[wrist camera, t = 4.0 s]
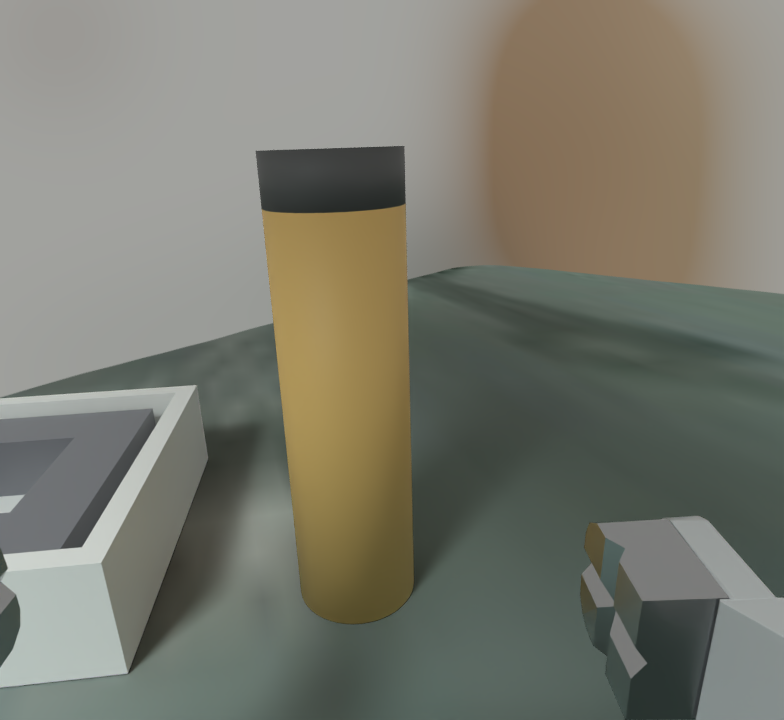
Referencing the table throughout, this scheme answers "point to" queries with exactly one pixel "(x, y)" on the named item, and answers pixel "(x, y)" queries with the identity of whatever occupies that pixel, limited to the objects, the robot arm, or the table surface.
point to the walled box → (92, 521)
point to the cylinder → (343, 370)
